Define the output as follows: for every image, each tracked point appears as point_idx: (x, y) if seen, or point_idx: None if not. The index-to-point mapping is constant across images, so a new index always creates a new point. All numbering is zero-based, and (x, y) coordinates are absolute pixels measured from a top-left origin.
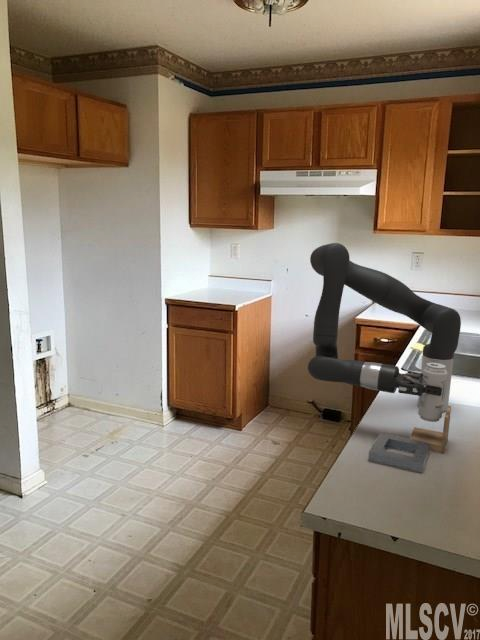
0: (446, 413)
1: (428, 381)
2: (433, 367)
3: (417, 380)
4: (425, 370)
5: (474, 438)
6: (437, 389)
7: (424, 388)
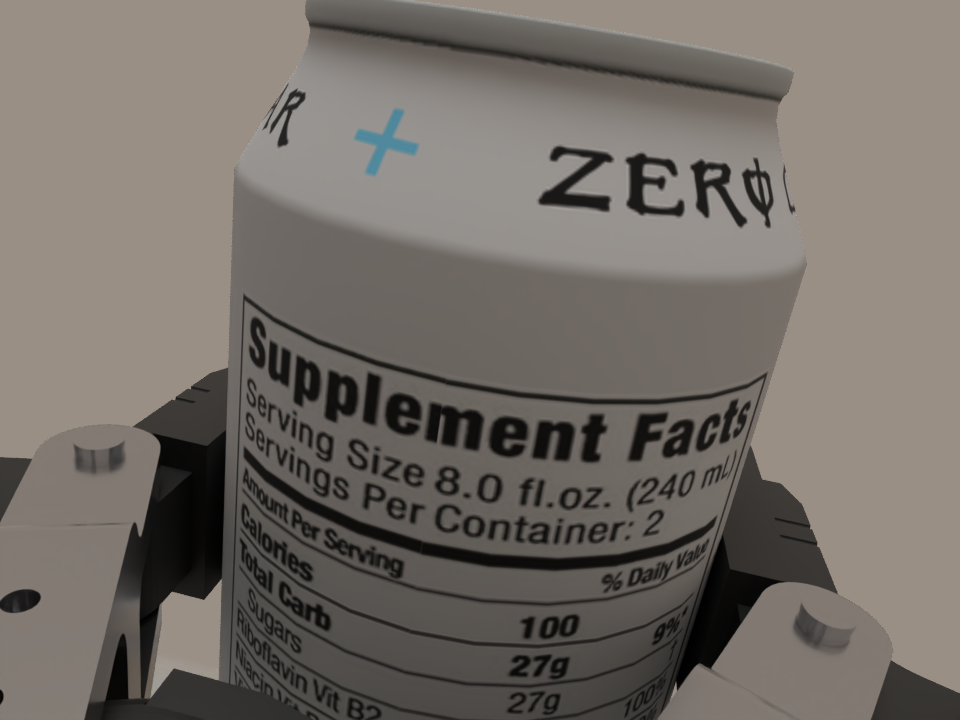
0: None
1: (734, 483)
2: (791, 82)
3: (735, 705)
4: (703, 248)
5: (200, 665)
6: (783, 497)
7: (905, 681)
